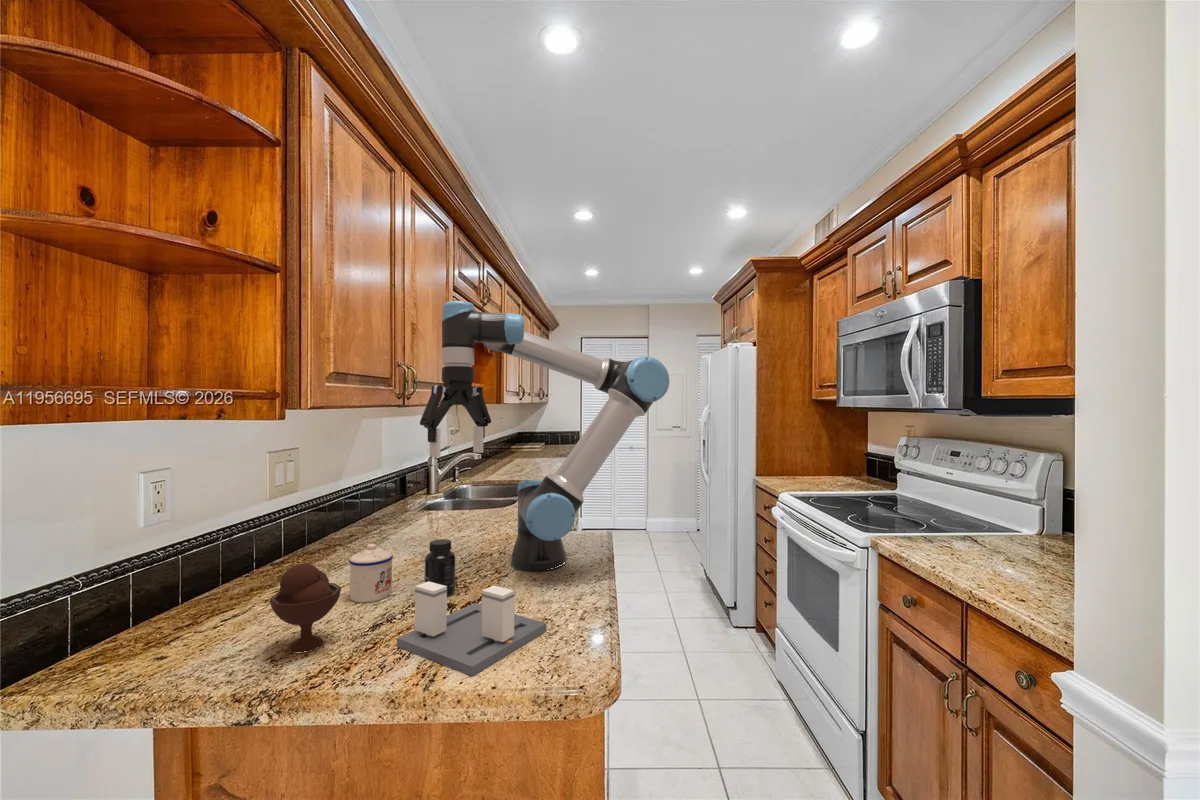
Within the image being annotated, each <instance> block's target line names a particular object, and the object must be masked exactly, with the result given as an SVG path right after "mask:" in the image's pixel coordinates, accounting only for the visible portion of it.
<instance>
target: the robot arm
mask: <svg viewBox="0 0 1200 800" xmlns="http://www.w3.org/2000/svg"><path fill="white" fill-rule="evenodd" d="M475 343H477V344H482V343H483V344H484V346H485V347H486V348H487V349H488V350H490V351H491V352H500V353H502V354H505V355H506V354H507V355H509V356H513V357H515V358H517V359H521V360H524V361H526V362H529V363H531V364H535V365H538V366H541V367H543V368H546V369H549V370H552V371H554V372H557V373H560V374H563V375H566V376H568V377H571V378H574V379H577V380H579V381H583V382H585V383H588V384H591V385H593V386H594V388H595V390H597V391H601V392H602V393H605V394H608V399H607V401H606V402H605V404H603V407H602V408H601V409H600V411H599V412H598V413H597V415H596V416H595V418H593V420H592V422H590V425H588V427H587V428H586V430H585V431H584V433H583V434H582V436H581V437H580V438H579V439H578V441H577V442H576V444H575V445H574V447H573V448H572V449H571V451H570V453H568V455H567V456H566V458H565V459H564V460H563V462H562V463H561V465H560V466H559V467H558V469H557V471H556V472H554V473H550V474H546V475H545V477H544V478H543V479H533V480H532V479H531V480H520V481H519V482H518V485H517V490H516V492H517V537H516V540H515V543H514V547H513V549H512V553H511V556H510V560H511V561H510V564H511V566H512V567H513V568H515V569H517V570H520V571H525V572H526V571H528V572H541V571H540V570H545V571H548V570H547V569H551V568H555V567H557V566H559V565H562V564H563V563H564V562H565V561H566V562H567V554H566V550H565V547H564V544H563V541H562V540H563V539H562V538H563V537H566V536H567V535H568V533H570V532H571V530H572V529H573V527H574V525H575V521H576V513H578V511H579V509H580V508H581V506H582V505H583V503H584V492H585V490H586V489H587V487H588V486H589V484H590V483H591V482H592V480H593V479H594V478H595V476H596V475H597V473H598V472H599V470H600V469H601V467H602V466H603V465H604V463H605V461H606V460H607V459H608V457H609V456H611V455H610V454H612V452H613V451H614V449H615V448H616V446H617V445H618V443H619V442H620V441H621V439H622V437H623V436H624V435H625V433H626V432H627V430H628V429H629V427H630V426H631V425H632V423H633V422H634V420H635V419H636V418H638V417H643V416H645V415H646V413H647V412H648V411H649V409H650V408H651V406H652V405H653V403H655V402H657V401H659V400H661V399H662V398H663V397H664V396H665V395H666V394H667V392H668V390H669V387H670V376H669V372H668V369H667V368H666V366H665V365H664V364H663V362H661V361H660V360H659V359H657V358H655V357H651V356H640V357H636V358H634V359H632V360H629V361H619V360H614V359H611V358H609V357H606V358H603V359H601V358H598V357H596V356H593V355H590V354H588V353H585V352H582V351H579V350H576V349H574V348H571V347H569V346H565V345H563V344H560V343H557V342H555V341H552V340H549V339H547V338H544V337H541V336H538V335H535V334H533V333H530V332H527V331H525V319H524V316H523V315H521V314H519V313H511V312H506V313H505V312H486V311H485V312H484V311H483V312H482V311H477V310H476V309H475V305H474V304H473V302H469V301H463V300H451V301H447V302H445V303H444V304H442V315H441V364H442V365H443V367H442V368H441V382H442V383H443V385H442V384H436V385H432V386H431V390H430V391H431V392H430V397H429V399H428V401H427V404H426V406H425V408H424V411H423V414H422V416H421V419H420V421H419V425H420V426H423V427H424V428H425V429H427V442H428V443H429V457H432V458H441V427H440V428H439V427H438V426H439V425H440V424H441V422H442V420H443V419H444V418H445V416H446V415H447V413H448V411H449V410H450V409H451V407H453V406H463V407H464V409H465V410H466V411H467V413H468V415H469V416H470V417H471V418H470V419H472V421H473V423H474V424H475V425H476V426H473V436H472V437H473V442H472V443H473V445H472V446H473V448H472V449H473V451H472V452H473V453H484V439H485V436H486V435H485V431H486V429H485V427H488V426H489V424H491V423H492V419H491V416H490V413H489V411H488V407H487V405H486V402H485V399H484V396H483V388H482V387H480V386H476V387H475V386H474V387H473V385H472V384H473V383H474V381H475V369H474V367H473V366H474V365H475Z"/></svg>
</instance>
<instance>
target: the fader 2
mask: <svg viewBox="0 0 1200 800" xmlns="http://www.w3.org/2000/svg"><path fill="white" fill-rule="evenodd" d="M515 597H516V594H515V590H514V589H510V588H505V587H500V586H498V585H492V586H489V587H487V588H485V589H482V590H481V605H482V636H485V637H488V638H491V639H494V642H497V641H500V642H504V641H506V640H507V639H509V638H511V637H513V636H514V614H515Z"/></svg>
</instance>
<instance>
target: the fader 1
mask: <svg viewBox="0 0 1200 800" xmlns="http://www.w3.org/2000/svg"><path fill="white" fill-rule="evenodd" d="M447 599H448V597H447V586H444V585H440V584H436V583H433V582H429V581H428V582H426V583H424V582H422V583H421V584H418V585H415V586H414V630H416V631H419V632H422V633H425V634H427V636H436V635H438V634H440V633H442V632H444V631H446V630H447V613H448V611H447V610H448V604H447V603H448V602H447Z"/></svg>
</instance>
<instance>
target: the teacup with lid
mask: <svg viewBox="0 0 1200 800" xmlns="http://www.w3.org/2000/svg"><path fill="white" fill-rule="evenodd" d="M393 558H394V555H393V553H392V552H391V551H390V550H384V549H382V548H380V547H377V544H376V543H368V544H367V545H366V548H365V549H363V550H361V551H359V552H357V553H355V554H353V555H352V556H351V557H350V558H349V560H348V563H349V564H350V567H349V569H350V570H349V573H350V574H349V579H350V580H349V598H350V601H352V602H355V603H372V602H377V601H380V600H383V599H386V598H387V597H389V596H390V595H391V594H392V589H393V588H392V583H393V579H392V578H393V575H392V569H393V566H392V565H393V563H392V562H393Z"/></svg>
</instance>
